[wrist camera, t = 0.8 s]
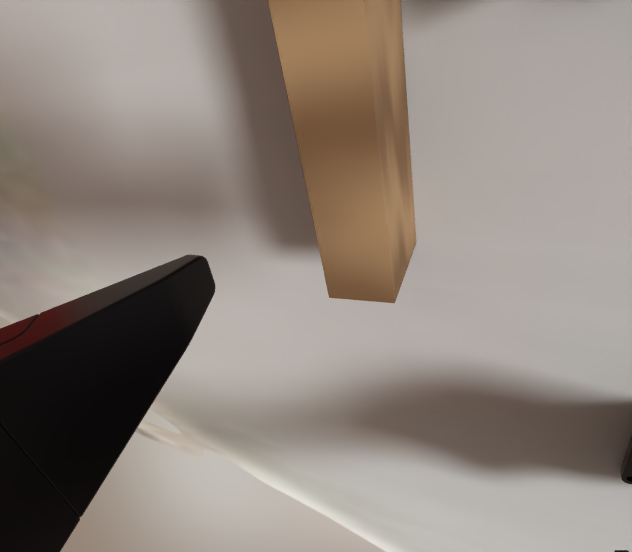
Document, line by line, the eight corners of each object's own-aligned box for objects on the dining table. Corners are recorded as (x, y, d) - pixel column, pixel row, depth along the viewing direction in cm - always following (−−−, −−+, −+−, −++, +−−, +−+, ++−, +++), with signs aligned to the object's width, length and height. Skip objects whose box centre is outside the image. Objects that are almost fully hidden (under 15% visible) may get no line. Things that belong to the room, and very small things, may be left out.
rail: (416, 242, 22) (394, 303, 19) (359, 241, 24) (328, 297, 20) (393, -115, 15) (349, -134, 11) (311, -91, 16) (246, -100, 12)
